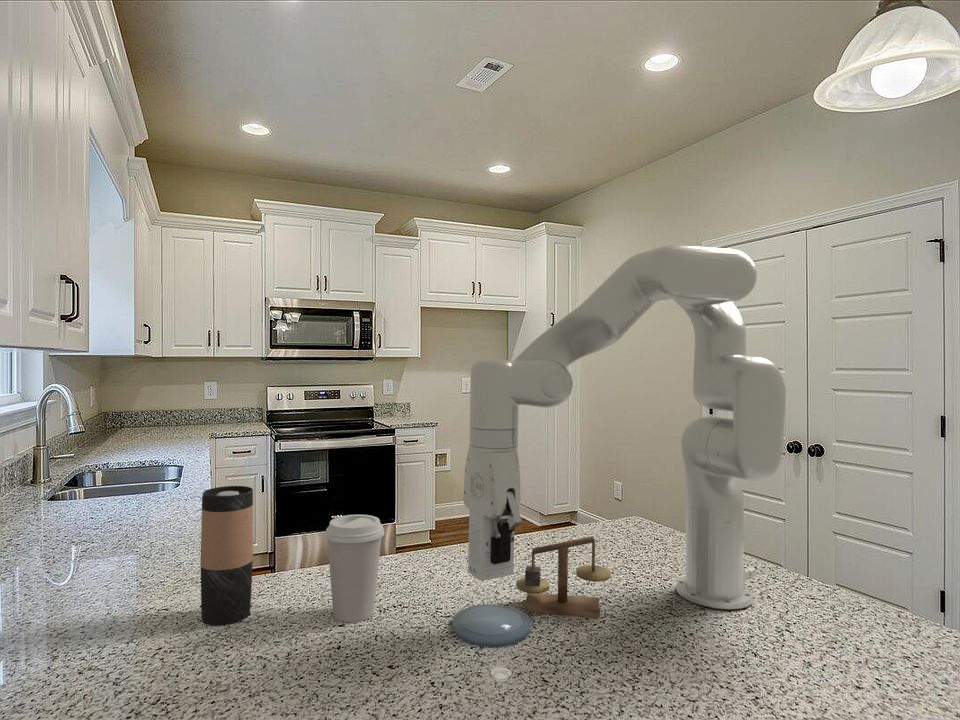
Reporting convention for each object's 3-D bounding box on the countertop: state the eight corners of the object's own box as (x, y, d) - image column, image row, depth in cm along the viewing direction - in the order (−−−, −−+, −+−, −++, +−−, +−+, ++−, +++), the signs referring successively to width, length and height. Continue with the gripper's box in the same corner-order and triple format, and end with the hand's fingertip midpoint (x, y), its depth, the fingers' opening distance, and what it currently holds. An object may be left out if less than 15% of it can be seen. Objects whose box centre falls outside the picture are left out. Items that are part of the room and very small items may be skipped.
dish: (502, 604, 96) (502, 597, 96) (546, 634, 86) (546, 626, 86) (439, 620, 90) (439, 613, 90) (477, 654, 80) (477, 646, 80)
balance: (609, 604, 97) (609, 532, 97) (611, 619, 91) (612, 542, 91) (517, 597, 99) (518, 527, 99) (514, 611, 94) (515, 536, 94)
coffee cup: (362, 596, 99) (363, 510, 99) (395, 614, 92) (396, 521, 92) (312, 612, 92) (313, 520, 93) (343, 633, 86) (344, 533, 86)
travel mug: (262, 609, 93) (264, 487, 93) (227, 630, 86) (229, 498, 86) (225, 602, 96) (226, 484, 96) (188, 622, 89) (190, 493, 89)
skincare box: (482, 582, 85) (483, 501, 85) (466, 572, 88) (467, 494, 88) (515, 574, 88) (516, 496, 88) (498, 565, 92) (500, 490, 92)
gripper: (447, 434, 94) (445, 545, 94) (502, 448, 79) (500, 580, 79) (486, 432, 97) (484, 538, 97) (546, 445, 83) (544, 570, 83)
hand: (491, 556), depth 88 cm, fingers closed on skincare box, 4 cm apart
